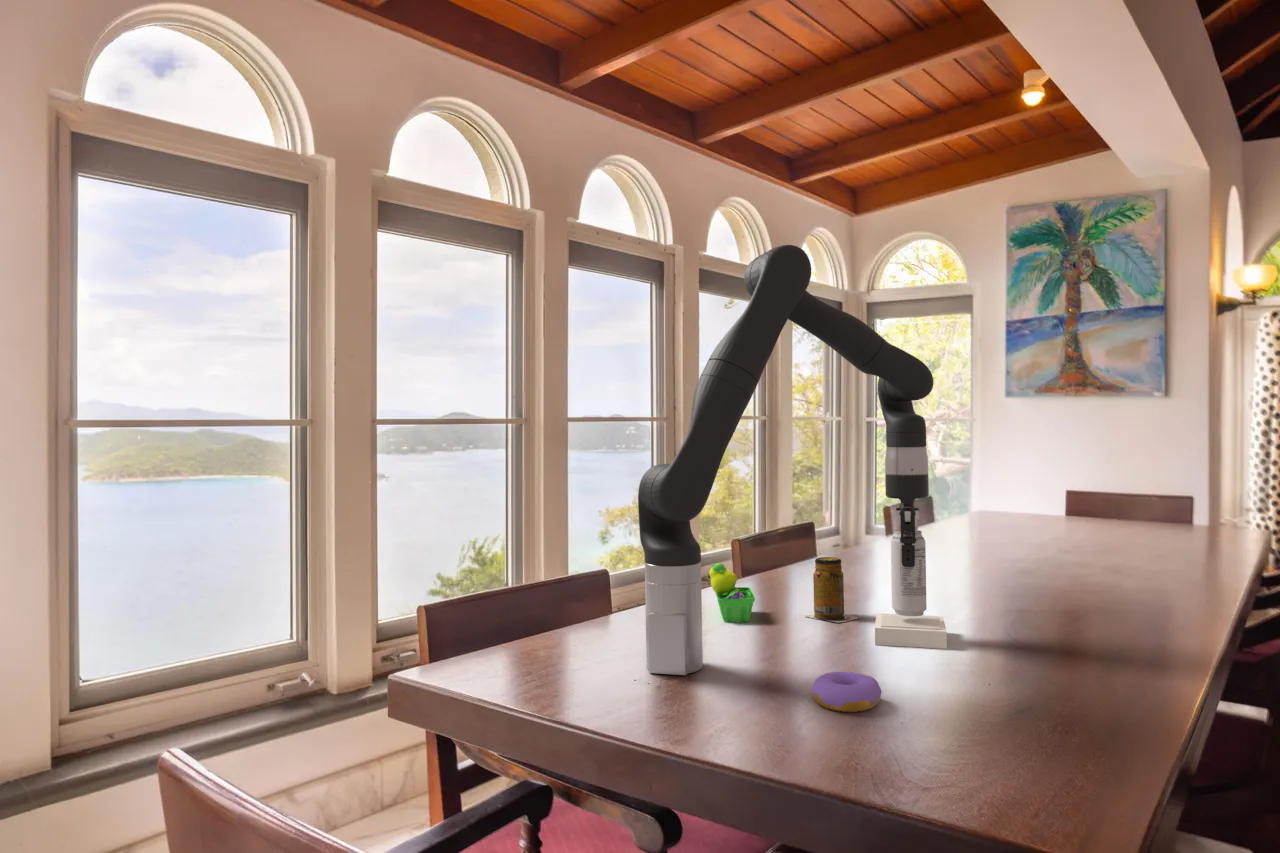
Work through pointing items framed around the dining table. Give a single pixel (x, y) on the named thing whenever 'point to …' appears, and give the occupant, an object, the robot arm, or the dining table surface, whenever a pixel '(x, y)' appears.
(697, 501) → the robot arm
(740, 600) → the fruit basket
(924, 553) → the energy drink can
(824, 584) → the condiment
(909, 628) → the beige rectangular box
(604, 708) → the dining table surface
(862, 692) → the donut
